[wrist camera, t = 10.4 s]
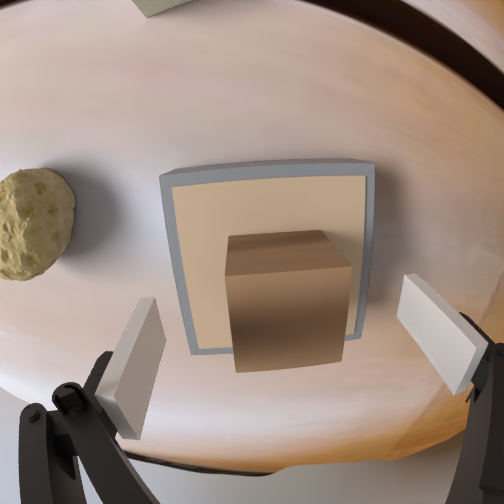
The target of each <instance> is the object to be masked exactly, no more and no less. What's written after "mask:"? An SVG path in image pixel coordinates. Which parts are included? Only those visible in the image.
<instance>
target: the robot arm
mask: <svg viewBox="0 0 504 504" xmlns="http://www.w3.org/2000/svg"><path fill="white" fill-rule="evenodd" d="M397 318H398V319H399V321H400V322H401V323H402V324H403V326H404V327H405V328H406V330H407V331H408V332H409V334H410V335H411V336H412V337H413V339H414V340H415V341H416V343H417V344H418V345H419V347H420V348H421V350H422V351H423V352H424V354H425V355H426V356H427V358H428V359H429V360H430V362H431V363H432V365H433V366H434V367H435V369H436V370H437V372H438V373H439V374H440V376H441V377H442V379H443V380H444V382H445V383H446V385H447V386H448V387H449V389H450V390H451V392H452V393H453V395H456V394H458V393H461V392H463V391H465V390H466V389H467V387H468V385H469V383H470V381H472V383H473V384H474V387H473V388H472V390H471V392H470V394H469V396H468V397H467V399H466V403H467V402H468V400H469V399H470V398H471V399H470V407H469V413H468V419H467V425H466V430H465V435H464V440H463V445H462V449H461V453H460V457H459V461H458V465H457V469H456V473H455V476H454V479H453V482H452V486H451V489H450V492H449V495H448V497H447V500H446V503H445V504H504V343H497V344H495V343H494V342H493V341H492V340H491V339H490V338H489V337H488V336H487V335H486V334H485V333H484V332H483V331H482V330H481V329H479V327H478V326H477V325H476V324H474V322H473V321H472V320H471V319H470V318H469V317H468V316H466V315H465V314H463V313H461V312H459V313H458V312H457V311H456V310H455V309H454V308H453V307H452V306H451V305H450V304H449V303H448V302H447V301H446V300H445V299H444V298H443V297H441V296H440V295H439V294H438V293H437V292H436V291H435V290H434V289H433V288H432V287H431V286H430V285H428V284H427V283H426V282H425V281H424V280H423V279H422V278H421V277H420V276H418V275H417V274H416V273H411V274H404V280H403V286H402V291H401V297H400V302H399V307H398V312H397ZM165 343H166V338H165V334H164V331H163V327H162V323H161V320H160V316H159V312H158V308H157V304H156V300H155V297H152V298H141V299H140V301H139V303H138V305H137V307H136V308H135V310H134V312H133V314H132V316H131V318H130V320H129V322H128V324H127V326H126V328H125V330H124V332H123V334H122V336H121V338H120V340H119V342H118V344H117V346H116V348H115V351H114V352H112V351H105V352H104V353H103V354H102V355H101V356H100V357H99V358H98V359H97V361H96V363H95V365H94V368H93V369H92V371H91V373H90V375H89V377H88V379H87V381H86V383H85V385H84V387H83V389H82V387H81V386H80V385H79V384H77V383H75V382H68V383H64V384H62V385H60V386H59V387H57V388H56V390H55V391H54V392H53V395H52V402H53V403H54V405H55V406H56V408H57V409H58V410H55V411H47V410H46V409H45V407H44V406H43V405H42V404H39V403H32V404H29V405H28V406H26V407H25V408H24V409H23V411H22V412H21V415H20V424H19V485H20V497H21V504H87V502H86V498H85V494H84V490H83V485H82V480H81V475H80V470H79V464H78V459H77V456H79V458H80V460H81V462H82V464H83V466H84V469H85V471H86V473H87V475H88V477H89V479H90V481H91V482H92V484H93V486H94V488H95V490H96V492H97V493H98V495H99V497H100V499H101V501H102V502H103V504H160V503H159V501H158V500H157V499H156V498H155V496H154V495H153V494H152V493H151V491H150V490H149V488H148V487H147V486H146V484H145V483H144V482H143V480H142V479H141V477H140V476H139V475H138V473H137V472H136V470H135V469H134V467H133V466H132V464H131V463H130V461H129V460H128V458H127V457H126V455H125V454H124V452H123V450H122V449H121V447H120V446H119V444H118V442H117V441H116V439H115V436H116V433H117V431H118V433H119V434H120V436H121V437H122V438H123V439H131V440H140V437H141V433H142V429H143V425H144V420H145V416H146V412H147V409H148V405H149V401H150V397H151V393H152V389H153V386H154V382H155V378H156V375H157V371H158V368H159V364H160V360H161V357H162V353H163V350H164V347H165Z"/></svg>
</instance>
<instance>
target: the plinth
mask: <svg viewBox="0 0 504 504" xmlns="http://www.w3.org/2000/svg"><path fill="white" fill-rule="evenodd" d="M159 180H160V188H161V196H162V203H163V211H164V218H165V224H166V231H167V237H168V243H169V250H170V255H171V261H172V267H173V272H174V278H175V283H176V288H177V293H178V298H179V303H180V308H181V313H182V317H183V322H184V326H185V331H186V335H187V340H188V344H189V348H190V352H191V355H208V354H228V353H233V345H232V337H231V329H230V320H229V312H228V303H227V294H226V285H225V266H226V256H227V246H228V236H233V235H247V234H262V233H277V232H292V231H308V230H321V231H322V232H323V233H324V234H325V235H326V236H327V237H328V239H329V240H330V241H331V242H332V243H333V244H334V245H335V246H336V248H337V249H338V250H339V251H340V252H341V253H342V254H343V255H344V257H345V258H346V259H347V260H348V261H349V262H350V264H351V265H352V266H353V268H352V280H351V290H350V300H349V309H348V317H347V325H346V333H345V340H344V341H348V340H354V339H360V338H361V335H362V329H363V322H364V315H365V308H366V301H367V293H368V284H369V275H370V265H371V253H372V240H373V223H374V197H375V163H370V162H365V161H359V160H354V159H293V160H271V161H254V162H240V163H228V164H217V165H207V166H197V167H189V168H180V169H174V170H172V171H170V172H167V173H165V174H162V175H160V176H159Z"/></svg>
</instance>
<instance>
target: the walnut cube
mask: <svg viewBox="0 0 504 504" xmlns="http://www.w3.org/2000/svg"><path fill="white" fill-rule="evenodd" d="M352 268H353V266H352V265H351V264H350V262H349V261H348V260H347V259H346V258H345V257H344V255H343V254H342V253H341V252H340V251H339V250H338V249H337V248H336V246H335V245H334V244H333V243H332V242H331V241H330V240H329V239H328V237H327V236H326V235H325V234H324V233H323V232H322V231H321V230H308V231H292V232H277V233H262V234H247V235H233V236H228V246H227V256H226V266H225V285H226V294H227V303H228V312H229V320H230V329H231V337H232V345H233V353H234V361H235V368H236V373H241V372H256V371H268V370H279V369H289V368H298V367H306V366H314V365H321V364H328V363H335V362H341V360H342V354H343V347H344V340H345V333H346V325H347V317H348V309H349V300H350V290H351V280H352Z"/></svg>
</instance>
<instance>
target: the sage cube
mask: <svg viewBox="0 0 504 504" xmlns="http://www.w3.org/2000/svg"><path fill="white" fill-rule="evenodd" d="M132 1H133V2H134V3H135V4H136V6H137V7H138V8H139V9H140V11H141V12H142V13H143V14H144V16H145V17H146V18H148V17H150V16H153V15H155V14H157V13H160V12H162V11H165V10H167V9H170V8H172V7H175V6H178V5H180V4H183V3H186V2H189V1H192V0H132Z"/></svg>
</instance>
